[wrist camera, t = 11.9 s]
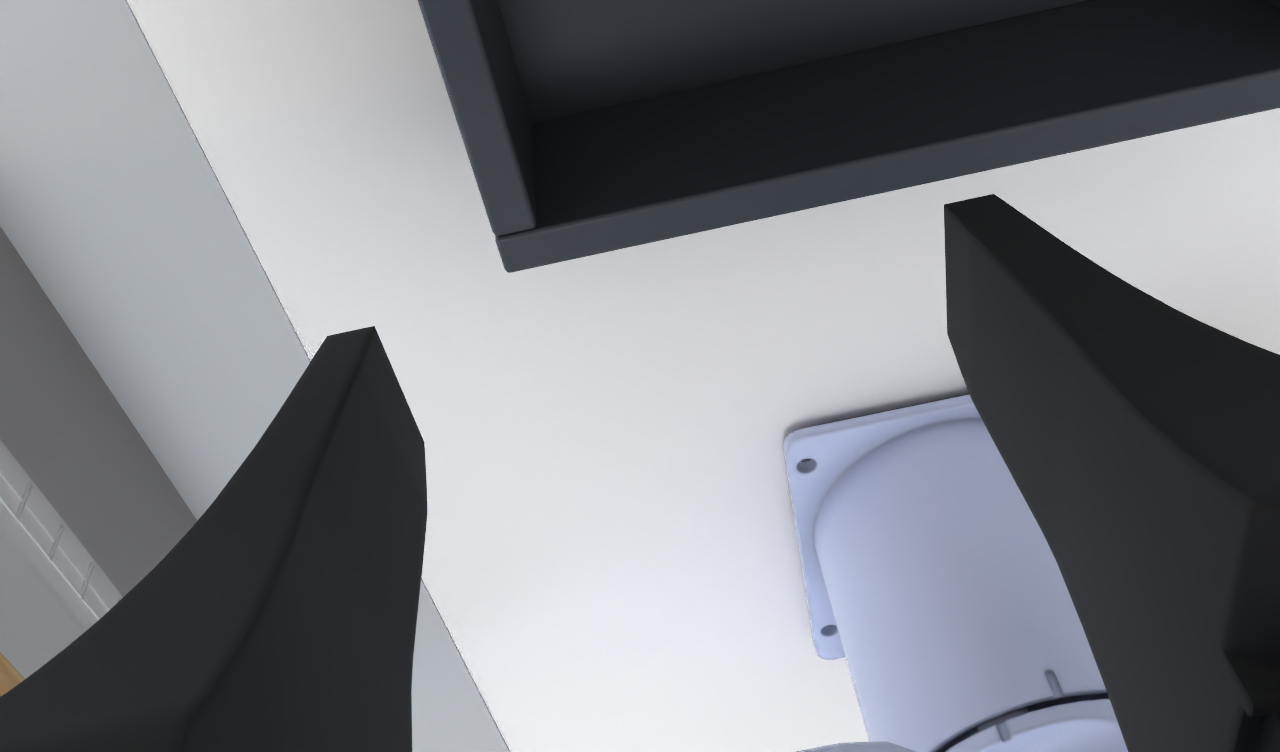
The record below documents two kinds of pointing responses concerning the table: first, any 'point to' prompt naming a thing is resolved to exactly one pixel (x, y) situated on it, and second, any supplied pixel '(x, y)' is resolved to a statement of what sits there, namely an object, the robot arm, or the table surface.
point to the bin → (809, 100)
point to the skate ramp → (133, 347)
